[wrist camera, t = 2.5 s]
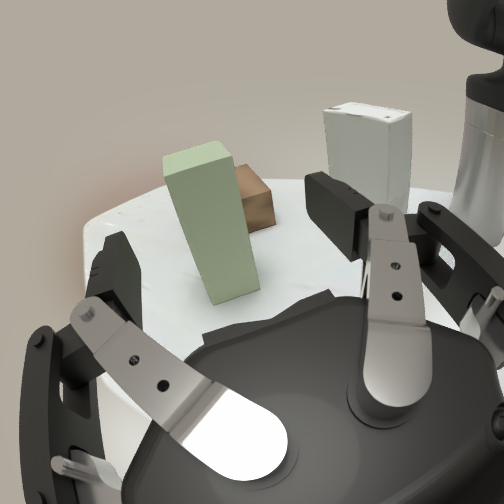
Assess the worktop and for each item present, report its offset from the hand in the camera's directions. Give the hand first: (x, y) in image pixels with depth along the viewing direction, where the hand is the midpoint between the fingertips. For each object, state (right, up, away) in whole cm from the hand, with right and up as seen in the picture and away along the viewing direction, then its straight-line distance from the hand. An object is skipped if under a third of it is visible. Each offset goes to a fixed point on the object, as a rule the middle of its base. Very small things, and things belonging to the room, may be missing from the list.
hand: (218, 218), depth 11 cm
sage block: (-1, -4, +18) cm, 19 cm away
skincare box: (+16, +2, +21) cm, 26 cm away
